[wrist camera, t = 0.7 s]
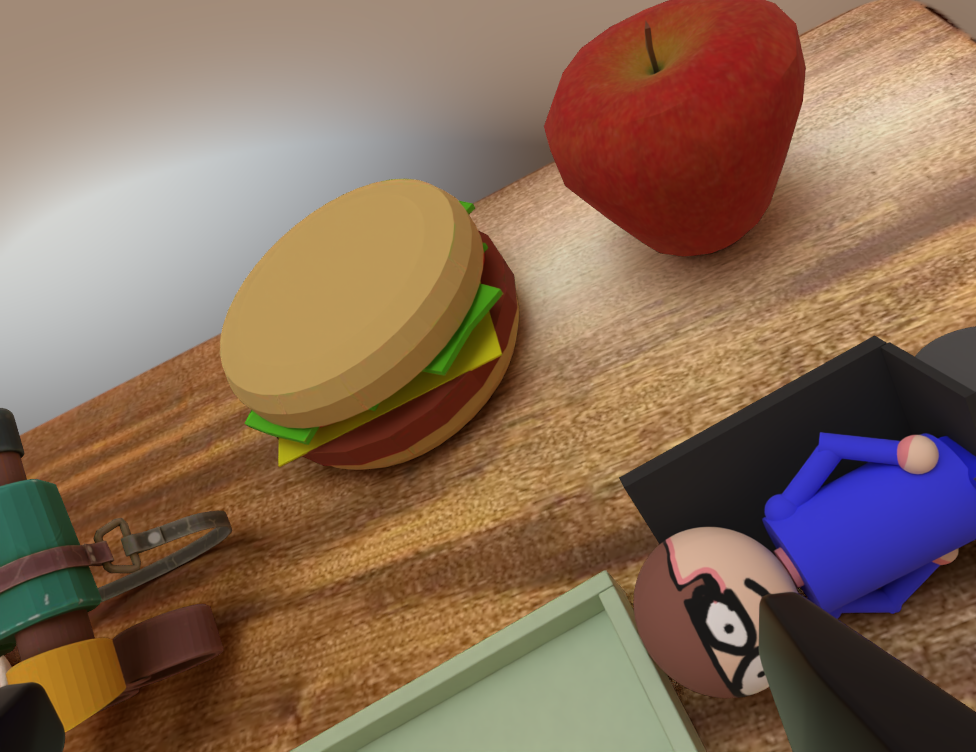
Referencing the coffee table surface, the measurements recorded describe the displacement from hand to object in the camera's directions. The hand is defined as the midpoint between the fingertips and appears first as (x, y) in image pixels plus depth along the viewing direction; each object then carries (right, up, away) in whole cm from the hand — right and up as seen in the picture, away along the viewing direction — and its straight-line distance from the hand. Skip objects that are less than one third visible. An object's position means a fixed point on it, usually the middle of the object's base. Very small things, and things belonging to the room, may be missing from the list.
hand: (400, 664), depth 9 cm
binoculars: (-16, -12, +28) cm, 34 cm away
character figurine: (+14, -3, +16) cm, 22 cm away
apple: (+13, +11, +28) cm, 33 cm away
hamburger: (-4, +4, +33) cm, 34 cm away
